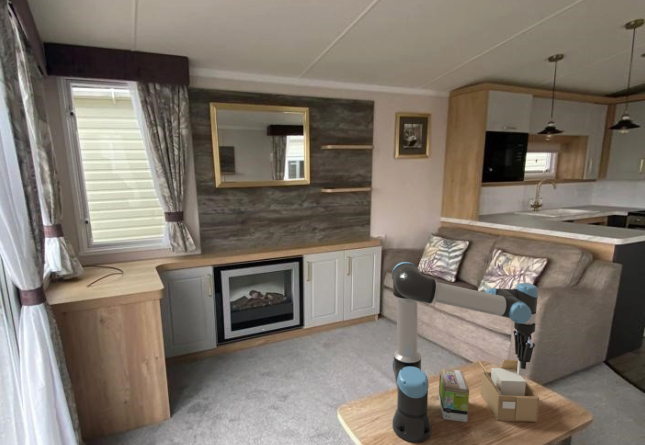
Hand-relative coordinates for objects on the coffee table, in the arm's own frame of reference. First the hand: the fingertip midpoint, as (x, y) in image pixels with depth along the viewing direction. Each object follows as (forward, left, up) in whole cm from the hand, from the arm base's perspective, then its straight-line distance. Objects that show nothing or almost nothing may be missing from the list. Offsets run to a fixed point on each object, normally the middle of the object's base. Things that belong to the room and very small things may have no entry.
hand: (521, 374), depth 144 cm
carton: (-3, +4, -18) cm, 19 cm away
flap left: (-13, +1, -2) cm, 13 cm away
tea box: (-28, +1, -18) cm, 33 cm away
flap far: (0, +9, -2) cm, 10 cm away
